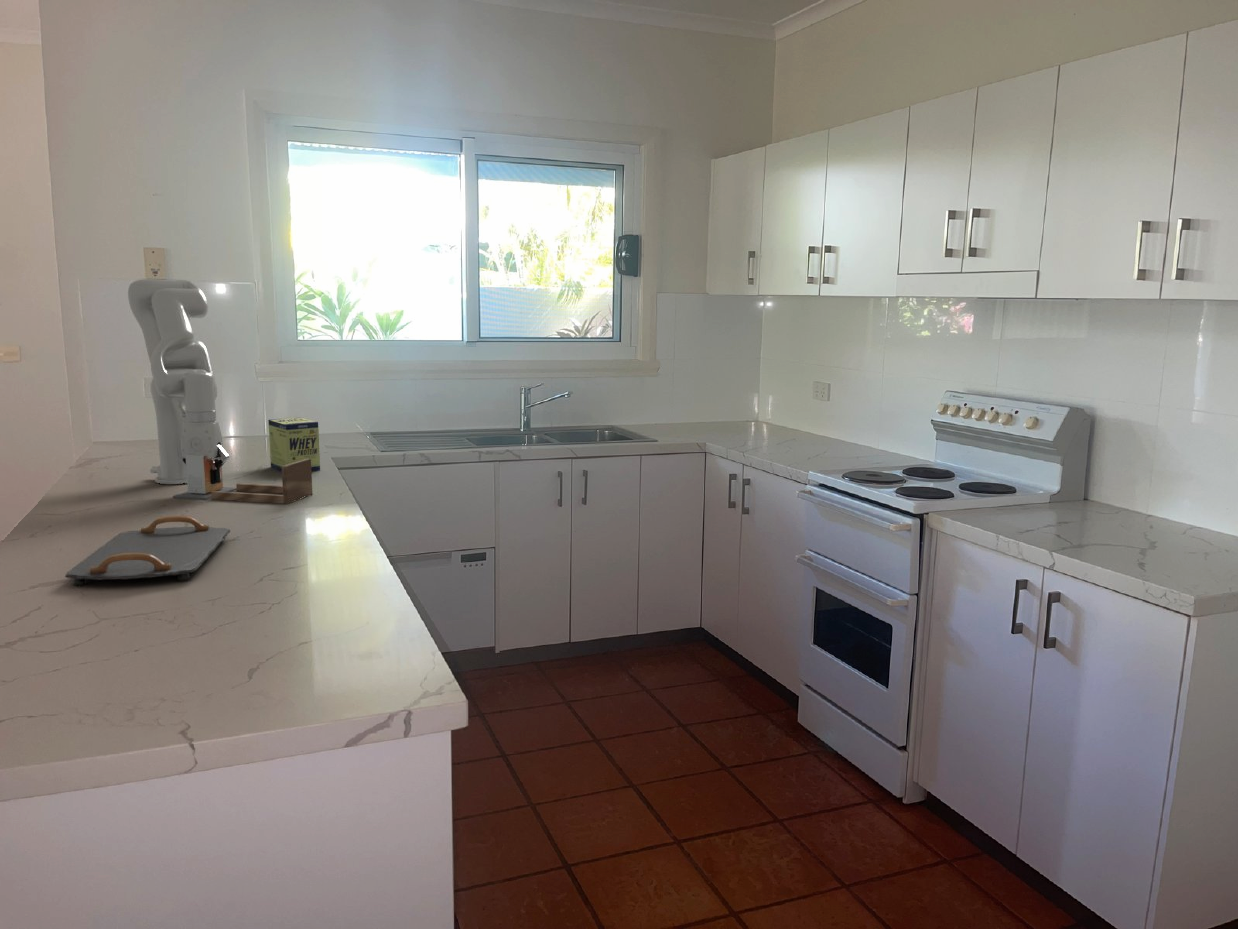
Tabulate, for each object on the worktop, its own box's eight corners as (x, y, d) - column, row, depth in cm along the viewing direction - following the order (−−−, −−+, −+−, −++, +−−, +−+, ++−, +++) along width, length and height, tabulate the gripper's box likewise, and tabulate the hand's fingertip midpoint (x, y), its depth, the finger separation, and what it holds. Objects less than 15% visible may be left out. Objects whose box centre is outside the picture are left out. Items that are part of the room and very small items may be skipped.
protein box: (288, 474, 282) (286, 424, 279) (269, 467, 294) (267, 419, 291) (321, 470, 289) (319, 421, 286) (301, 463, 300) (299, 416, 298)
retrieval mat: (173, 497, 246) (173, 495, 246) (206, 487, 260) (206, 486, 260) (206, 499, 244) (206, 497, 244) (237, 489, 258) (237, 487, 258)
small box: (205, 494, 248) (203, 456, 246) (187, 493, 249) (184, 455, 247) (223, 488, 255) (221, 451, 253) (206, 487, 256) (203, 450, 255)
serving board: (125, 541, 203) (123, 514, 202) (236, 537, 207) (234, 510, 206) (57, 595, 165) (53, 561, 164) (193, 588, 170) (191, 556, 169)
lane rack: (211, 499, 245) (208, 462, 243) (239, 490, 257) (237, 455, 255) (287, 503, 240) (285, 466, 239) (312, 494, 252) (310, 458, 251)
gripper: (163, 417, 247) (168, 483, 250) (220, 420, 243) (224, 486, 246) (182, 414, 254) (186, 478, 257) (237, 417, 250) (241, 481, 253)
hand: (205, 481), depth 252 cm, fingers closed on small box, 5 cm apart
